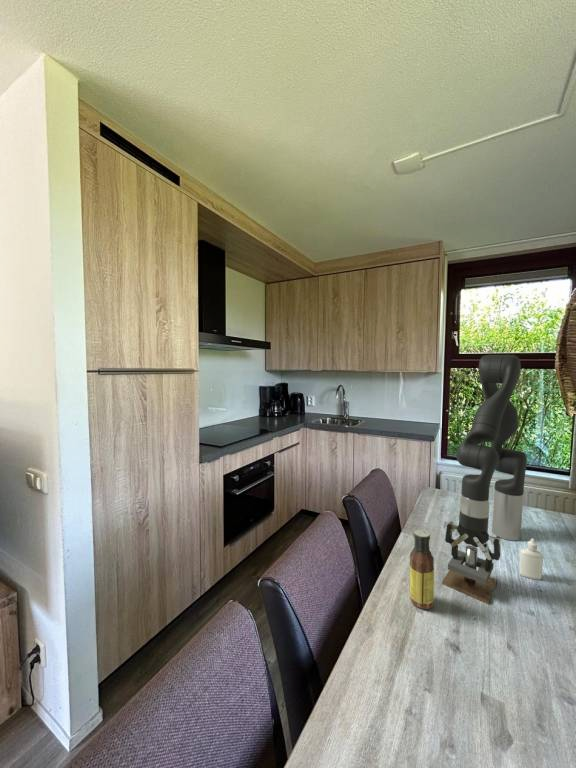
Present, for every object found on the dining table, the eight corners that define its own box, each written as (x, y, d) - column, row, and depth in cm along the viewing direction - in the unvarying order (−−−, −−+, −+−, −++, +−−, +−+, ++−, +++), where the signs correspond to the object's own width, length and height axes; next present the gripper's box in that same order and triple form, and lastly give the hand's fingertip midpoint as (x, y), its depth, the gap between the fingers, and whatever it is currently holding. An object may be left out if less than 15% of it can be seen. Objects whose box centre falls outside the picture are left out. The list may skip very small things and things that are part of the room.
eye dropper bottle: (539, 583, 99) (542, 545, 98) (517, 574, 103) (519, 537, 102) (542, 577, 102) (545, 540, 101) (521, 568, 106) (523, 532, 105)
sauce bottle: (432, 597, 93) (435, 529, 91) (434, 613, 87) (438, 541, 85) (407, 591, 95) (410, 525, 93) (408, 607, 89) (411, 536, 87)
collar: (457, 554, 105) (457, 549, 105) (493, 568, 99) (493, 563, 99) (447, 569, 98) (447, 564, 98) (485, 584, 91) (486, 579, 91)
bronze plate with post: (454, 565, 107) (455, 533, 106) (496, 582, 99) (499, 547, 98) (442, 583, 98) (444, 548, 97) (488, 604, 90) (490, 566, 89)
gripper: (504, 514, 95) (501, 568, 96) (451, 500, 104) (449, 549, 106) (499, 524, 89) (496, 580, 91) (444, 507, 99) (441, 559, 100)
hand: (470, 563), depth 98 cm, fingers open, 8 cm apart
